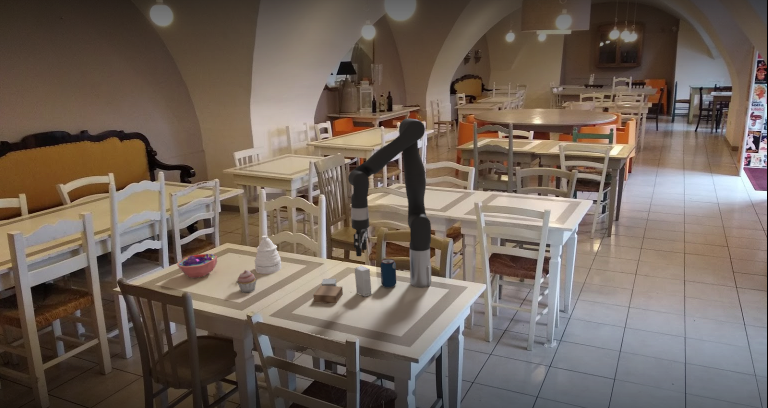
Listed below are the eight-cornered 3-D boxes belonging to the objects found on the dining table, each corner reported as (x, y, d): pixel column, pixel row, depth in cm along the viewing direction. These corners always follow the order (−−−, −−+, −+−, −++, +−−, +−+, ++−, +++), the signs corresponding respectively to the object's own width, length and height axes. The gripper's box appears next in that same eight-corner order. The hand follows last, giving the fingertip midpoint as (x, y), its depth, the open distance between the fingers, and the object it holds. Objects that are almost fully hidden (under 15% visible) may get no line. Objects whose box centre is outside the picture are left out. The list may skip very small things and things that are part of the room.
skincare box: (372, 294, 246) (370, 268, 243) (363, 297, 243) (362, 271, 240) (363, 290, 251) (362, 265, 248) (355, 293, 248) (354, 267, 245)
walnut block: (342, 295, 247) (342, 286, 246) (336, 304, 238) (335, 295, 237) (321, 293, 249) (320, 285, 248) (314, 303, 240) (313, 294, 239)
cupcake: (233, 291, 255) (231, 270, 253) (250, 284, 262) (248, 264, 260) (244, 296, 249) (242, 275, 247) (262, 289, 256) (260, 269, 253)
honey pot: (278, 273, 275) (275, 238, 271) (252, 274, 275) (249, 239, 271) (283, 264, 288) (280, 230, 283) (258, 265, 288) (255, 231, 283)
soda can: (399, 284, 255) (398, 260, 252) (389, 289, 251) (388, 264, 248) (388, 281, 260) (387, 257, 257) (378, 285, 255) (377, 261, 252)
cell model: (226, 271, 280) (224, 250, 277) (194, 285, 264) (191, 262, 261) (204, 266, 289) (201, 245, 286) (171, 279, 273) (168, 257, 270)
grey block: (336, 286, 257) (336, 278, 256) (335, 291, 251) (334, 283, 250) (323, 287, 257) (323, 278, 256) (322, 292, 251) (321, 283, 250)
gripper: (364, 221, 231) (365, 258, 235) (372, 212, 244) (374, 248, 248) (346, 221, 232) (348, 258, 236) (356, 212, 246) (357, 247, 250)
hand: (361, 252), depth 242 cm, fingers open, 8 cm apart
